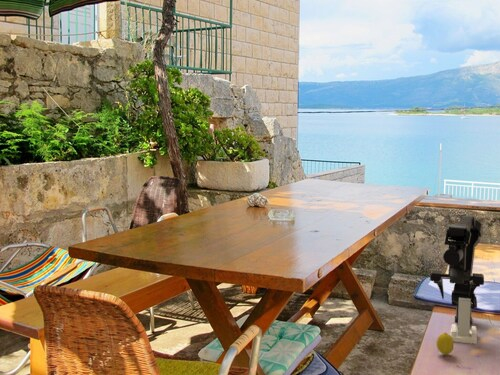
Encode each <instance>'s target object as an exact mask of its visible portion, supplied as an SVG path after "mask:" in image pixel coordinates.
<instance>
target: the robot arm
mask: <svg viewBox="0 0 500 375" xmlns="http://www.w3.org/2000/svg"><path fill="white" fill-rule="evenodd" d="M483 229H484V228H483V225H482V223H481V222H479V220H477V217H475V216H474V215H462V216H461V218H460V220H459V221H458V222H457V223H454V224H453V223H452V224H450V225H449V226H448V227H447V228H446V233H445V237H444V238H445V239H444V245H445V246H448V249H446V250H445V252H444V253H443V255H442V256H443V261H444V262H445V263H446V264H447V265H448V273H442V271H443V270H436V269H435V270H434V269H432V270H431V271H430V275H429V280H430V281H431V282H433V283H434V284H436V285H437V287H438V289H439V292H440V295H441V299H442V300H444V298H445V297H444V296H445V294H444V282H443V280H444V279H445V280H449V284H454V286H453V290H451V305H452V306H455V307H456V310H455V316H454V323H458V307H459V298H468V299H471V304H470V325H471V324H472V325H473V317H472V309H474V310H475V309H477V308H478V300H477V296H476V293H475V290H476V289H477V287H479V288H480V287H481V286H484V285H485V276H484V274H483V273H478V272H477V273H476V272H475V273H474V272H473V269H474V261H475V260H474V259H475V258H474V257H475V251H476V247H477V246H478V245H479V243H481V238H482V237H483V232H484V230H483Z"/></svg>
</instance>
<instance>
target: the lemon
mask: <svg viewBox="0 0 500 375" xmlns="http://www.w3.org/2000/svg"><path fill="white" fill-rule="evenodd" d="M454 346H455V344H454V341H453V338H452V337H451V334H449V333H447V332H444V333H441V334H439V335H438V337H437V341H436V348H437V350H438V352H439V353H441V354H442V355H443V356H447V355H448V354H451V353H452V351H454Z"/></svg>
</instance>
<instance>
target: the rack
mask: <svg viewBox="0 0 500 375" xmlns="http://www.w3.org/2000/svg"><path fill="white" fill-rule="evenodd" d="M450 336H451V337H452V338H453V342H455V343H464V344H472V343H474V345H477V344H478V333H477V326H475V325H472V326H471V330H470V333H469V337H467V336H459V335H458V328H457V324H456V323H452V324H451V328H450Z"/></svg>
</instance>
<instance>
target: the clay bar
mask: <svg viewBox="0 0 500 375" xmlns="http://www.w3.org/2000/svg"><path fill="white" fill-rule="evenodd" d="M470 304H471V299H468V298H459V307H458V322H457V329H458V335H459V336H467V337H469V333H470V331H471V329H470V328H471V324H470Z"/></svg>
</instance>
